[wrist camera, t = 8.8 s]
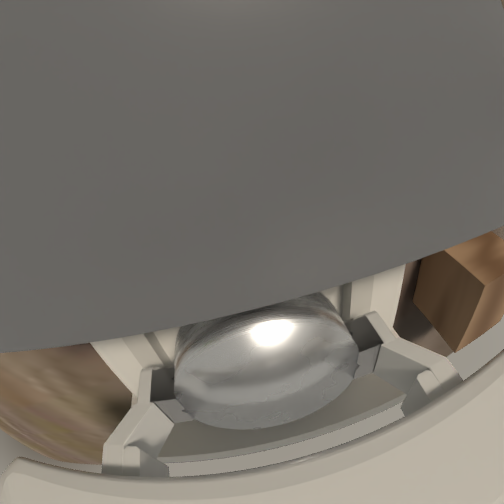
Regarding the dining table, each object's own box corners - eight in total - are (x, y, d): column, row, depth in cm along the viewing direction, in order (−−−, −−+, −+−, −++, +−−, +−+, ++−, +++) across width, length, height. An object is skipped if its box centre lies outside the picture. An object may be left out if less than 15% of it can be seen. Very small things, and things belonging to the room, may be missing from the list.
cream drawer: (404, 87, 9) (499, 99, 4) (387, 335, 16) (423, 390, 12) (10, 182, 8) (-66, 237, 3) (141, 397, 16) (138, 463, 11)
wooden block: (473, 219, 14) (526, 257, 9) (459, 279, 16) (500, 320, 12) (425, 235, 13) (485, 285, 9) (412, 301, 16) (454, 353, 12)
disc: (340, 259, 9) (370, 297, 7) (335, 369, 12) (350, 402, 10) (146, 307, 8) (138, 355, 7) (205, 402, 12) (208, 438, 10)
